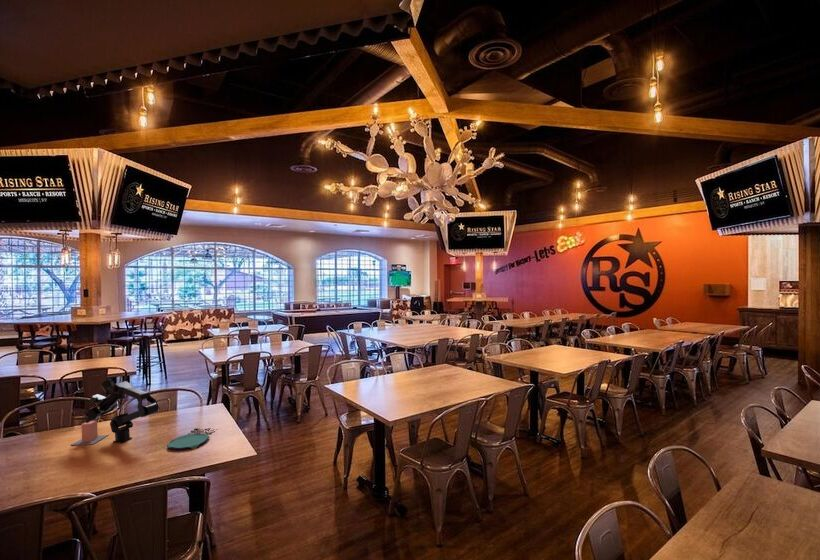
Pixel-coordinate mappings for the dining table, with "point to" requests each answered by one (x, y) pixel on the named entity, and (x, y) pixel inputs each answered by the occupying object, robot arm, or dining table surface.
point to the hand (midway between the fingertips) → (92, 419)
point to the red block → (89, 431)
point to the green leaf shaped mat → (189, 440)
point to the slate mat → (90, 441)
